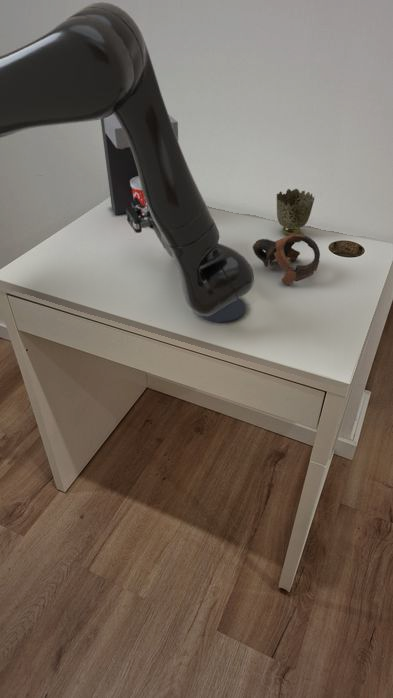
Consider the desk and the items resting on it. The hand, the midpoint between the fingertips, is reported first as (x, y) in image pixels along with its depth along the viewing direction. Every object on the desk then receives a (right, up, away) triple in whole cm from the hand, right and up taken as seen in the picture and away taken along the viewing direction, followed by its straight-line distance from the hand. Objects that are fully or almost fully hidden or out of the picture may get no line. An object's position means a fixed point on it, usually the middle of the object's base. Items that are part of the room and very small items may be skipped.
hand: (156, 199), depth 94 cm
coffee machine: (-4, 0, +13) cm, 13 cm away
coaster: (+12, -23, -14) cm, 29 cm away
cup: (+28, -5, +7) cm, 29 cm away
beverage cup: (-3, -1, +12) cm, 12 cm away
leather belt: (+24, -15, -5) cm, 29 cm away
